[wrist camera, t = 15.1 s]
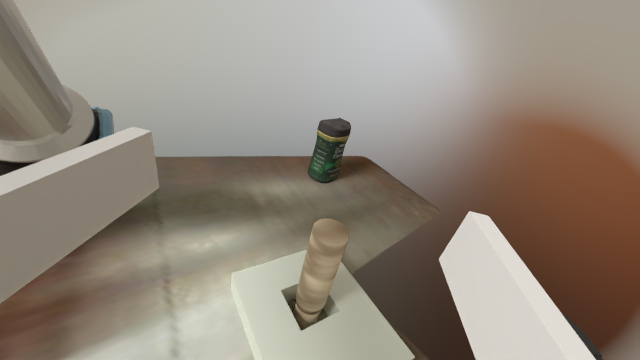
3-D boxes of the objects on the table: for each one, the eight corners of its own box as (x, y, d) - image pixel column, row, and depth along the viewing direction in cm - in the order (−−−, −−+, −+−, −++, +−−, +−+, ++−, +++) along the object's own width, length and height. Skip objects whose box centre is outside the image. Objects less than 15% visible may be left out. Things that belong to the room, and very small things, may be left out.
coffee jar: (321, 186, 74) (336, 126, 64) (303, 174, 78) (314, 116, 68) (341, 178, 80) (357, 123, 71) (323, 167, 84) (336, 113, 75)
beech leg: (285, 309, 39) (305, 223, 31) (310, 298, 42) (335, 215, 33) (299, 336, 36) (325, 249, 27) (325, 323, 39) (356, 239, 30)
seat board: (230, 289, 40) (231, 273, 38) (322, 257, 50) (326, 243, 48) (290, 465, 26) (296, 453, 24) (404, 371, 35) (415, 357, 33)
